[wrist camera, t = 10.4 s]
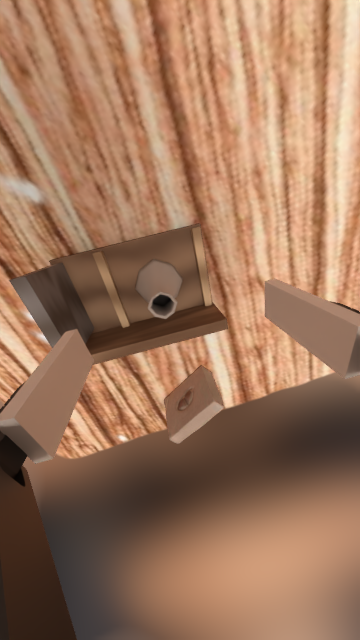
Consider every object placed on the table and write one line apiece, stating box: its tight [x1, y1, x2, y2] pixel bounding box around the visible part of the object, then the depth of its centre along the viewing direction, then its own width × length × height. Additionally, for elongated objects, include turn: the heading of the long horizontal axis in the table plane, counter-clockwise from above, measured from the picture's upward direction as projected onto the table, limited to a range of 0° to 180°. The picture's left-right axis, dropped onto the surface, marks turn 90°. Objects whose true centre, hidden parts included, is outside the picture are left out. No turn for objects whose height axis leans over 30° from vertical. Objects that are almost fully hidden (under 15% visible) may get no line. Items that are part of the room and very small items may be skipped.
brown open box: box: [9, 224, 228, 365], centre depth 27 cm, size 14×22×10 cm, turn 103°
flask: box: [135, 259, 183, 319], centre depth 26 cm, size 7×7×10 cm
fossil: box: [164, 366, 224, 443], centre depth 38 cm, size 12×4×10 cm, turn 138°
